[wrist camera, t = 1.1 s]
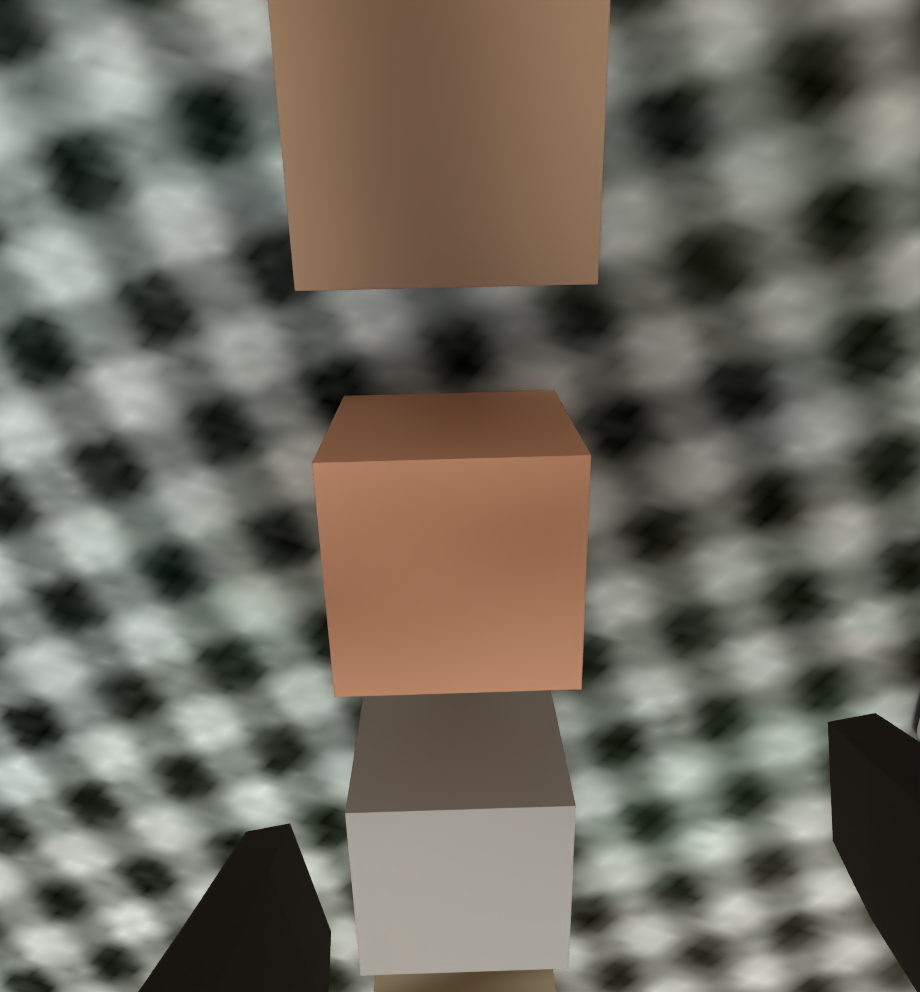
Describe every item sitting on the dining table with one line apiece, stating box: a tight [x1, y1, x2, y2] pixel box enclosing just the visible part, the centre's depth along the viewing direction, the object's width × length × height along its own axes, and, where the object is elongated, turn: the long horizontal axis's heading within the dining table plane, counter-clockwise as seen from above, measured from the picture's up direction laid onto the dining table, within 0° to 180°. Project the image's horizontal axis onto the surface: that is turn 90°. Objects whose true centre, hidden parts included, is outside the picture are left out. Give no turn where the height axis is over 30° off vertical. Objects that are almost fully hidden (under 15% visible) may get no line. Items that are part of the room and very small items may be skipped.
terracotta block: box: [312, 390, 591, 697], centre depth 17 cm, size 5×5×5 cm
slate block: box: [345, 690, 576, 976], centre depth 20 cm, size 5×5×5 cm
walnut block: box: [268, 0, 610, 291], centre depth 14 cm, size 5×5×5 cm
